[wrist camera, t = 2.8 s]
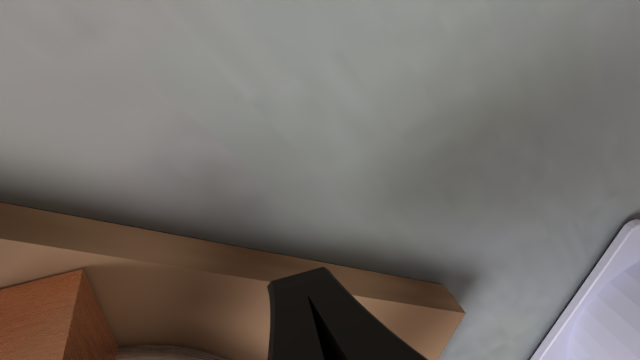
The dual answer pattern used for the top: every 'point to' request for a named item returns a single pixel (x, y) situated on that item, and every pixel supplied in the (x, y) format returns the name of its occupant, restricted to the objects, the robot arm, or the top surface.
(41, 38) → the top surface
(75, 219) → the mounting board
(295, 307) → the robot arm
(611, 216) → the top surface
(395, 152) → the top surface
